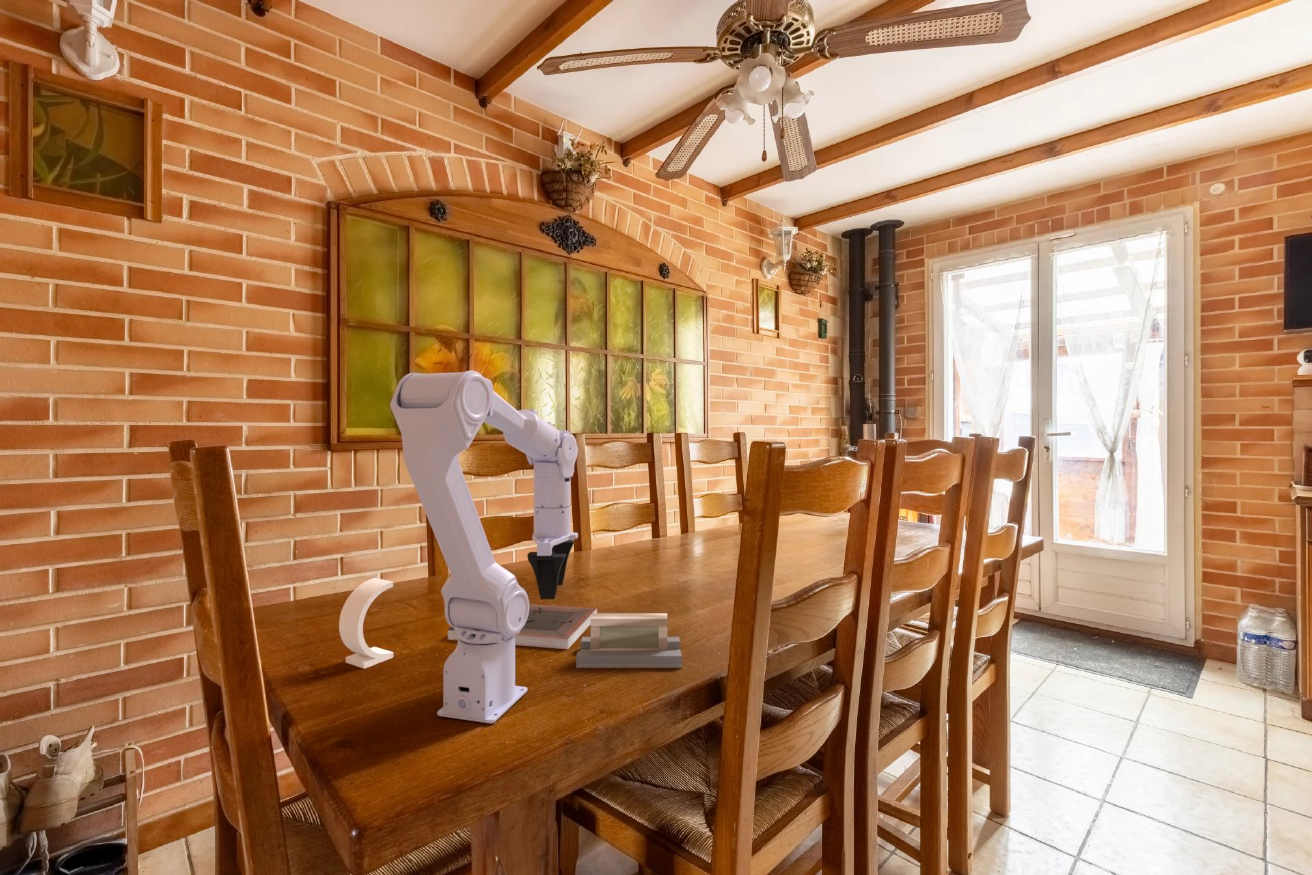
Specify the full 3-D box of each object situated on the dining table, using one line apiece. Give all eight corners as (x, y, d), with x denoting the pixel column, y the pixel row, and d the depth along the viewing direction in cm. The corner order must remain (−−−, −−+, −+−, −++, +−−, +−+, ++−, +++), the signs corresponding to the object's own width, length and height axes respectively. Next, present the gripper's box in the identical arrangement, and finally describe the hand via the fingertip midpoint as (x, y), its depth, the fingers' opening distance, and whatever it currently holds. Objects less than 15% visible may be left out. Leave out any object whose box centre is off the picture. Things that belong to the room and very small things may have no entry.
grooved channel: (681, 667, 89) (681, 656, 89) (576, 667, 88) (576, 655, 88) (679, 647, 97) (679, 636, 97) (582, 647, 96) (582, 636, 96)
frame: (667, 656, 91) (667, 618, 91) (590, 656, 91) (590, 618, 91) (666, 650, 94) (667, 613, 94) (592, 650, 94) (592, 613, 94)
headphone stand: (393, 657, 92) (393, 581, 92) (357, 671, 87) (357, 591, 87) (375, 651, 94) (374, 577, 94) (339, 664, 89) (338, 586, 89)
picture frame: (447, 643, 100) (567, 653, 96) (447, 628, 100) (567, 637, 96) (492, 612, 116) (596, 620, 112) (492, 600, 116) (596, 607, 112)
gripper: (571, 512, 85) (571, 605, 85) (582, 500, 99) (582, 579, 100) (522, 512, 85) (522, 605, 85) (541, 499, 99) (541, 579, 100)
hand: (552, 591), depth 92 cm, fingers open, 7 cm apart
